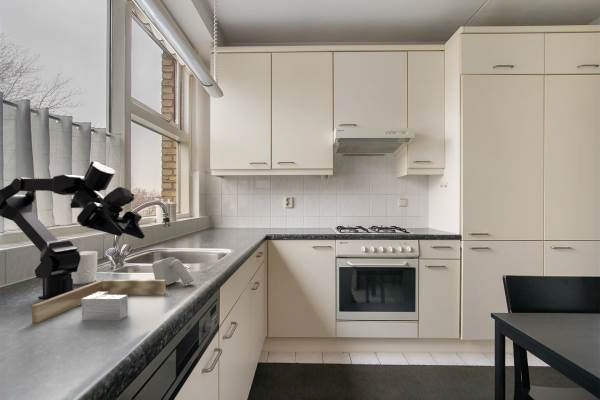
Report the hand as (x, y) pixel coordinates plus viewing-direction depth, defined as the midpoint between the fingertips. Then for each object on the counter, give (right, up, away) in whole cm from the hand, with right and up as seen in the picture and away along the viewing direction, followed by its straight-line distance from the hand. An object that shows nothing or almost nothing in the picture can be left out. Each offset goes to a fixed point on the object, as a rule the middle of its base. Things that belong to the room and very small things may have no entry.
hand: (133, 236), depth 84 cm
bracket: (-1, -18, -10) cm, 20 cm away
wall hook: (+4, -18, +18) cm, 26 cm away
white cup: (-29, -19, +23) cm, 42 cm away
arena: (-5, -18, -2) cm, 19 cm away
